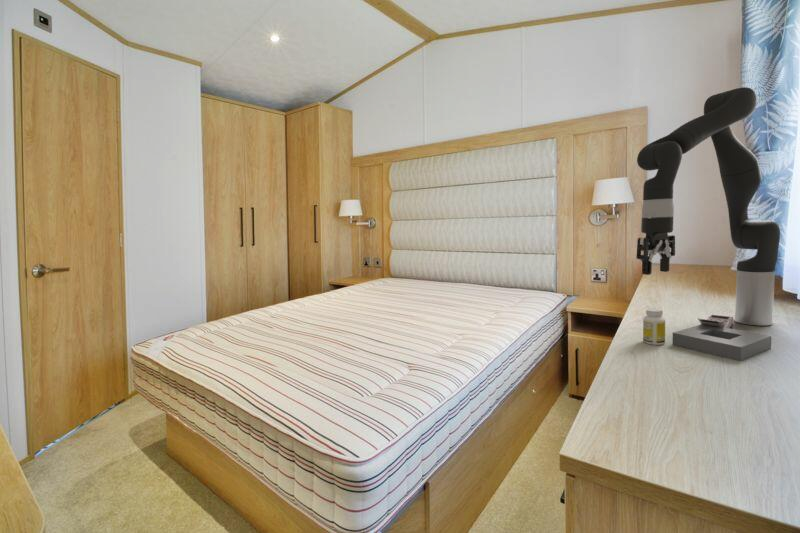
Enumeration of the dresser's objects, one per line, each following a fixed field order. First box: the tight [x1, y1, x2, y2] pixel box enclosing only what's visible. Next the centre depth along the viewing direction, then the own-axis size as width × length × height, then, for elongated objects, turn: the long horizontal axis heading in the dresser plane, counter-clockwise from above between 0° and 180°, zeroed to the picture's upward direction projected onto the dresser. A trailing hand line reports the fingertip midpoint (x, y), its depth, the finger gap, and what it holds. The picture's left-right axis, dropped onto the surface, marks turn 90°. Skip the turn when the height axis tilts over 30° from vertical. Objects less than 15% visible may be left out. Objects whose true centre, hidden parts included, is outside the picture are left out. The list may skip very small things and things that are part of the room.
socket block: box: [672, 323, 772, 362], centre depth 109 cm, size 16×16×4 cm
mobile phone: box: [697, 314, 734, 329], centre depth 123 cm, size 6×6×25 cm
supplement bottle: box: [642, 308, 666, 346], centre depth 115 cm, size 5×5×10 cm
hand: (655, 272), depth 113 cm, fingers open, 8 cm apart
